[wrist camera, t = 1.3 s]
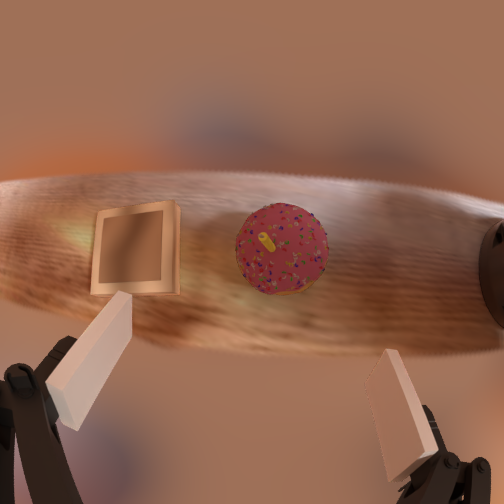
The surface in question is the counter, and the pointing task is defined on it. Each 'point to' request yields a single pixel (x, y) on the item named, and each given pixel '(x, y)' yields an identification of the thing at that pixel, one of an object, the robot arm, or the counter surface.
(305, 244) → the cupcake
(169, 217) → the square tray
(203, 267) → the counter surface
